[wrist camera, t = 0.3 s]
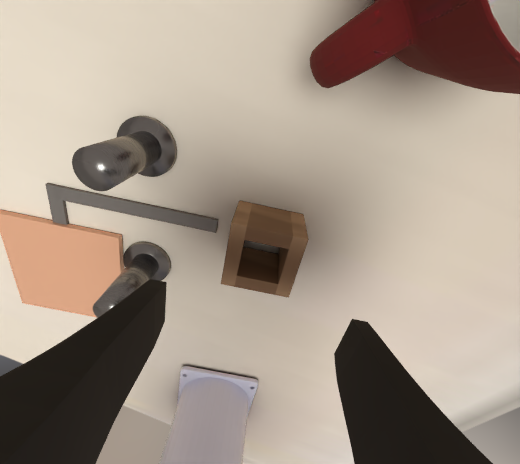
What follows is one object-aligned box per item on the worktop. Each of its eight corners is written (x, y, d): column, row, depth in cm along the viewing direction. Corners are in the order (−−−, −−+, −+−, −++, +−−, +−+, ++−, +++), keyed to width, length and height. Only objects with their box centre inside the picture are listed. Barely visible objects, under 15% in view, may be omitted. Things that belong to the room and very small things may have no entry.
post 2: (169, 283, 22) (139, 337, 17) (126, 274, 22) (82, 327, 17) (171, 247, 20) (137, 296, 15) (125, 237, 20) (75, 284, 15)
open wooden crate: (286, 266, 20) (288, 297, 17) (229, 254, 20) (220, 283, 17) (303, 214, 18) (308, 239, 15) (239, 200, 18) (231, 223, 15)
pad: (126, 318, 24) (123, 322, 24) (27, 299, 24) (22, 302, 23) (122, 234, 20) (118, 238, 19) (0, 209, 19) (-6, 212, 19)
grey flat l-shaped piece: (212, 258, 20) (211, 260, 20) (56, 226, 20) (54, 228, 20) (218, 219, 19) (217, 220, 18) (47, 182, 18) (45, 183, 18)
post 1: (175, 180, 17) (135, 213, 13) (121, 168, 17) (60, 198, 12) (178, 123, 16) (134, 137, 11) (118, 109, 16) (46, 118, 11)
